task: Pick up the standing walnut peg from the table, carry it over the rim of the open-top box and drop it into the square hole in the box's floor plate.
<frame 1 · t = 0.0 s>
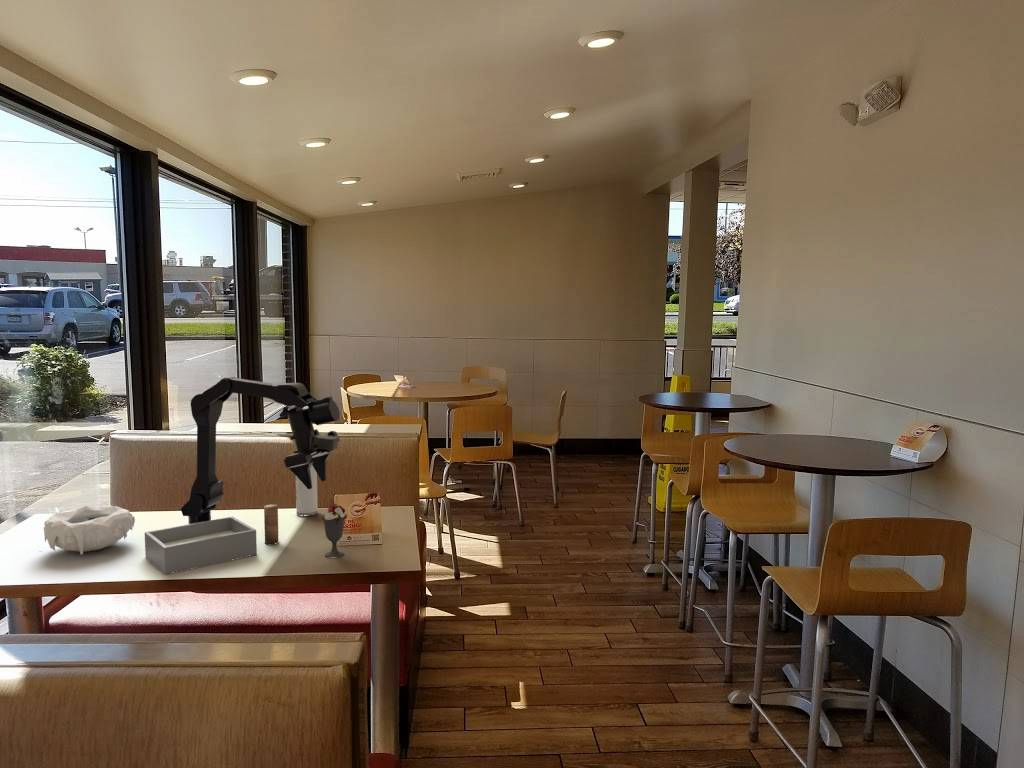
hand: (317, 484, 194), 15 cm above the table, tool pointing down, fingers open, 9 cm apart
bowl: (90, 550, 187), on the table
peg: (271, 542, 194), on the table
box: (201, 555, 183), on the table
sundae: (334, 555, 184), on the table
travel mug: (307, 514, 222), on the table
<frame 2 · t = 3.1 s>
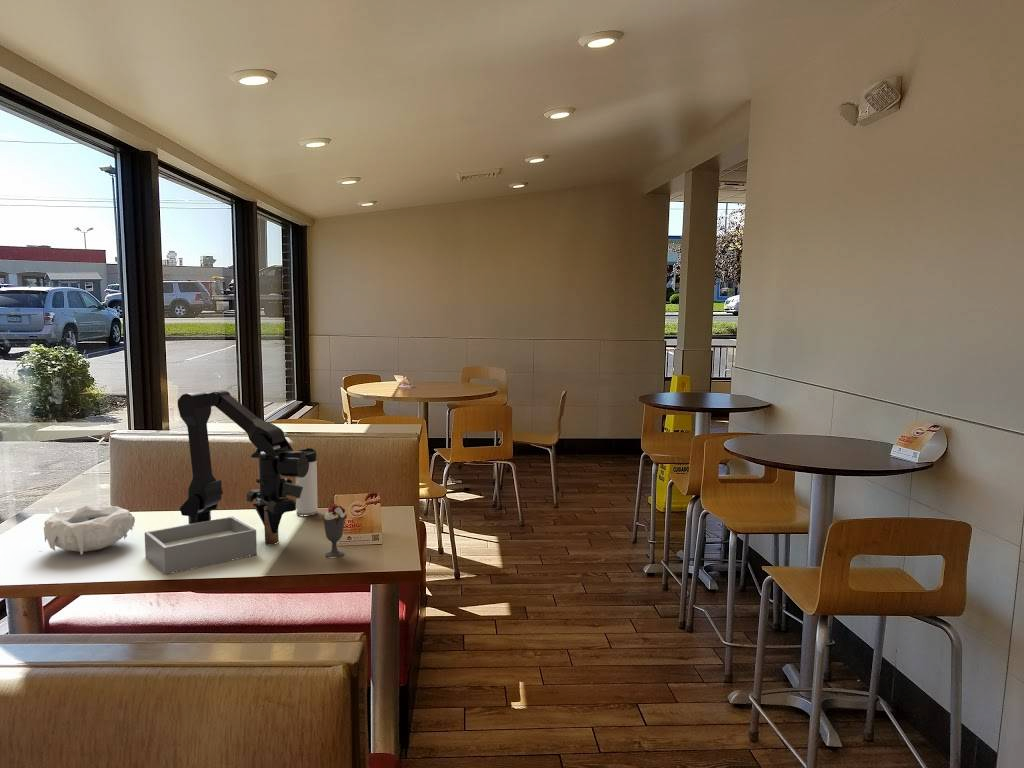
hand: (271, 531, 193), 3 cm above the table, tool pointing down, fingers closed on peg, 3 cm apart
peg: (271, 542, 194), on the table, touching gripper
everything else where it was.
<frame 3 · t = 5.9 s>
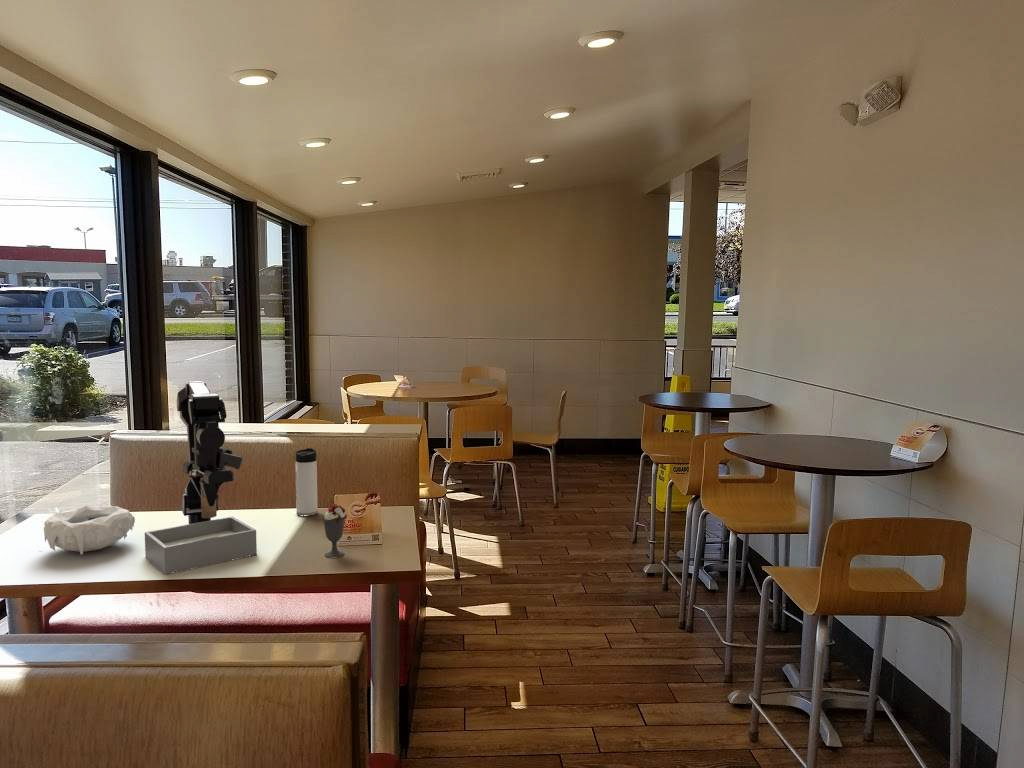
hand: (208, 504, 183), 13 cm above the table, tool pointing down, fingers closed on peg, 3 cm apart
peg: (209, 516, 183), point 10 cm above the table, touching gripper
everything else where it was.
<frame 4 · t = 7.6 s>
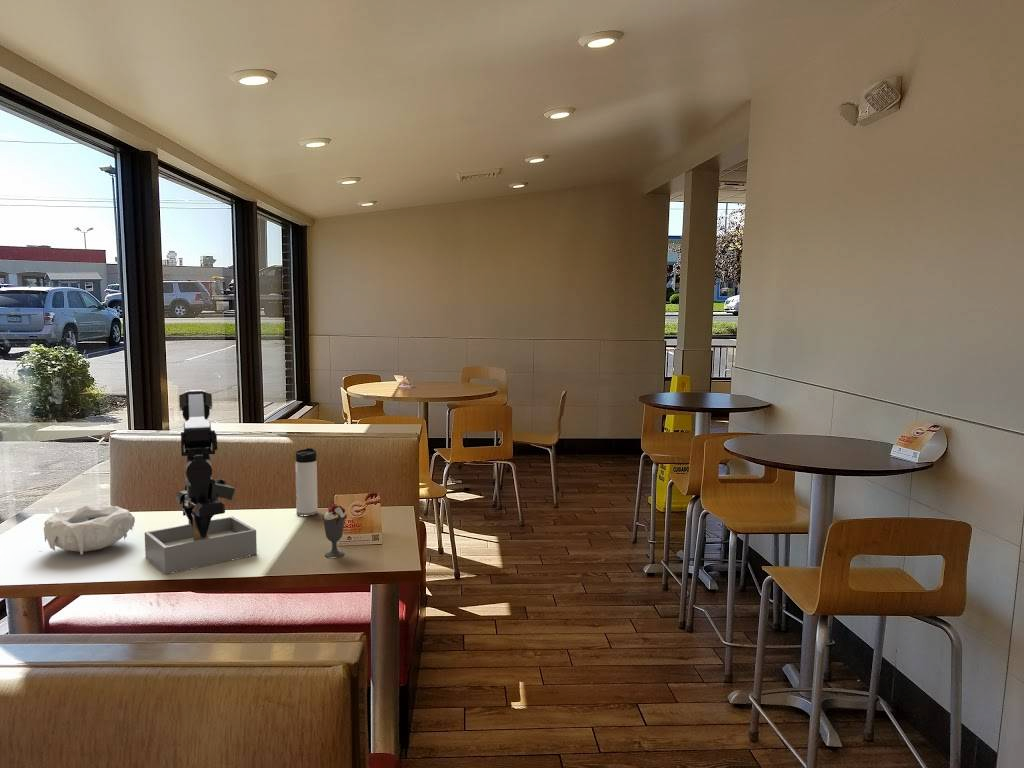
hand: (200, 535, 182), 5 cm above the table, tool pointing down, fingers closed on peg, 3 cm apart
peg: (201, 547, 182), point 2 cm above the table, touching gripper
everything else where it was.
when the fingers open (4 cm above the table, at t = 8.8 s): peg stays where it is, resting in box.
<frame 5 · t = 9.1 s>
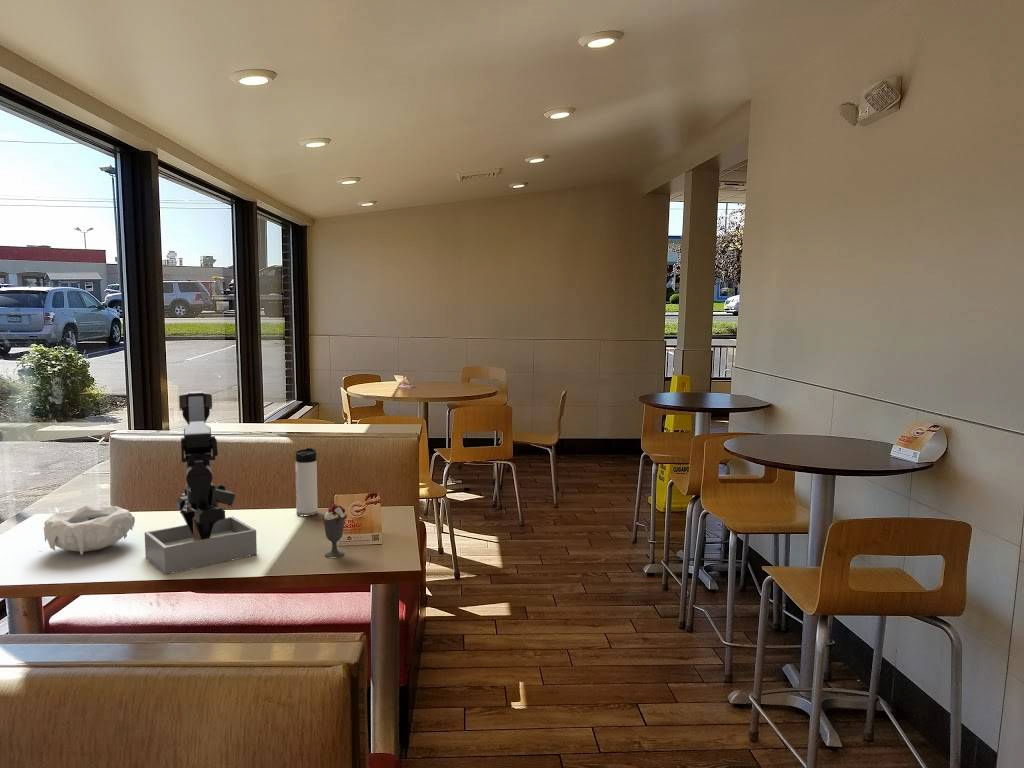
hand: (201, 541, 182), 4 cm above the table, tool pointing down, fingers open, 6 cm apart
peg: (201, 556, 183), resting in box
everything else where it was.
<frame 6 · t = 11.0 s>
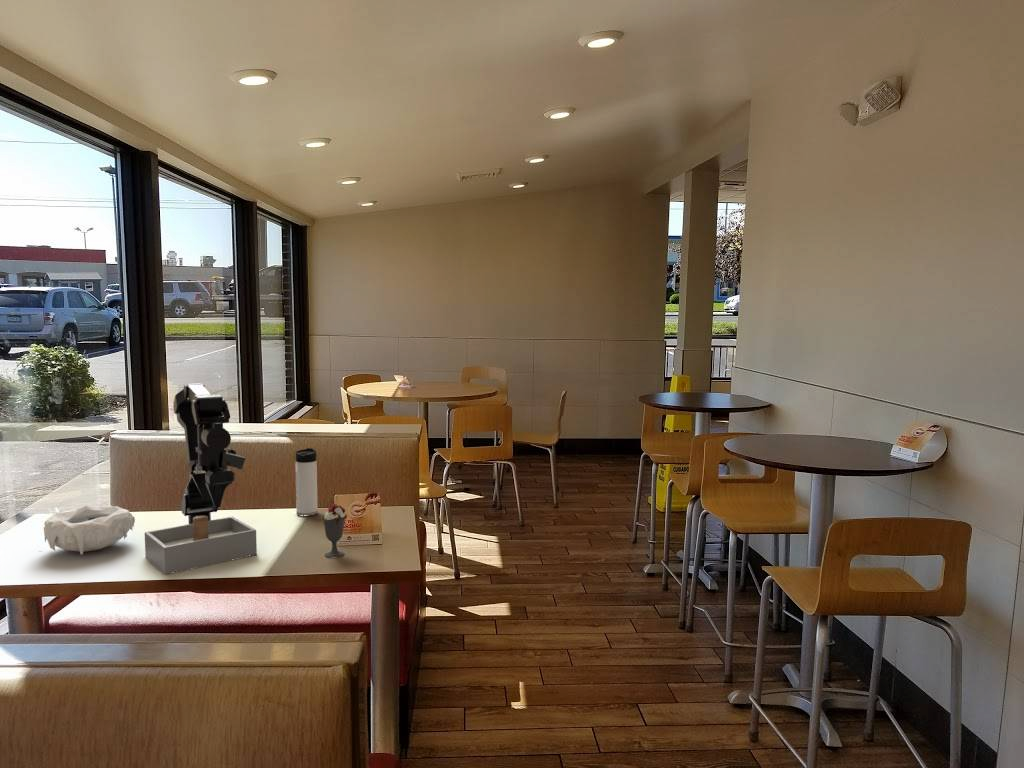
hand: (211, 503, 186), 12 cm above the table, tool pointing down, fingers open, 9 cm apart
nothing on the table moved.
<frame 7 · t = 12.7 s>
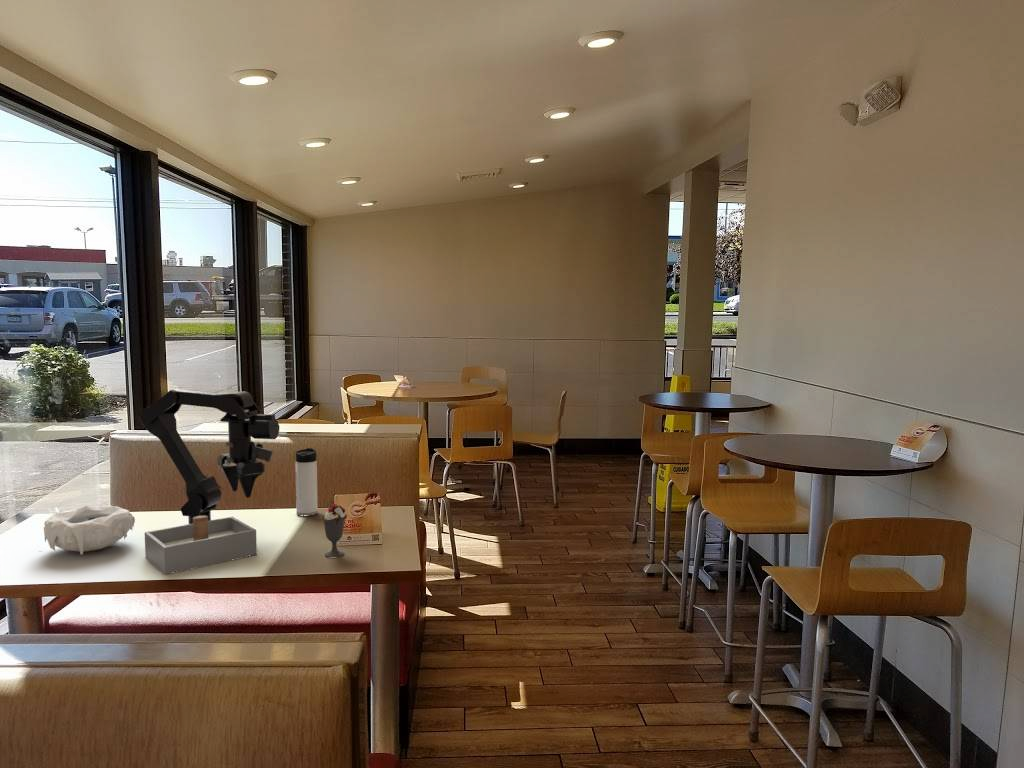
hand: (241, 494, 197), 12 cm above the table, tool pointing down, fingers open, 9 cm apart
nothing on the table moved.
at the end: peg 0.0 cm off-centre on the box, point 0.0 cm above the box's base; peg tilted 0°; the gripper is holding nothing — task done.
